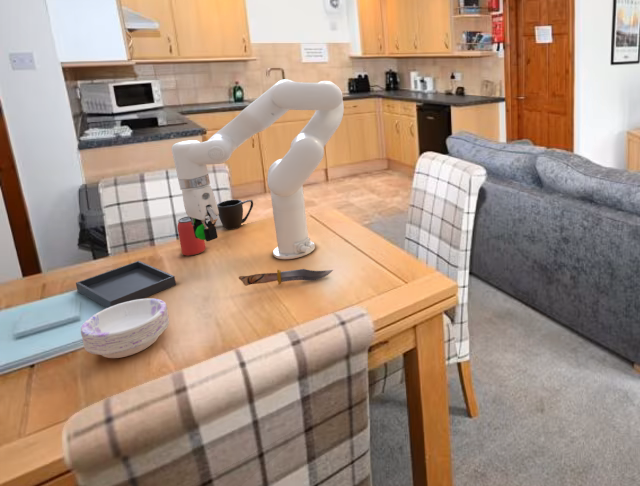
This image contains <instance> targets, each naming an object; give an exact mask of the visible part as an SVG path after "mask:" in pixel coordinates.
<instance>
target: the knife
mask: <svg viewBox="0 0 640 486" xmlns="http://www.w3.org/2000/svg"><path fill="white" fill-rule="evenodd" d="M333 271H334V269H327V270H326V269H325V270H311V269H306V268H301V269H300V268H299V269H292V270H284V271H281V270H280V269H277V272H267V273H265V272H263V273H255V274H251V275H240V276H238V279H239V281H241V282H242V284H243V285H244V286H246V287H247V286H250V285H256V284H257V285H258V284H267V283H273V282H277V283H278V286H280V285H281V284H282V283H285V282H292V281H293V282H294V281H307V282H313V281H319V280H321V279H323V278H325V277H327V276H329V275H330V274H331V273H332V272H333Z"/></svg>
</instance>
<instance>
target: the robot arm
mask: <svg viewBox="0 0 640 486" xmlns="http://www.w3.org/2000/svg"><path fill="white" fill-rule="evenodd" d="M343 97H344V93H343V91H342V90H341V88H340V87H339V86H338V85H337V84H336V83H334V82H333V81H330V80H321V81H319V82H304V81H303V82H301V81H294V80H292V79H287V78H286V79H281V80H279V81H277V82H276V83H274V84H273V85H272V86H271V87H269V88H268V89H267V90H265V92H263V93H262V94H261V95H260V96H258V97H257V98H256V99H255V100H253V101H252V102H251V103H249V104H248V105H246V107H245V108H243V109H242V110H241V111H240V112H239V113H238V115H236V116H235V117H234V118H233V119H231V120H230V121H229V122H228V123H227V124H225V125H224V126H223V127H221V128H220V129H219V130H218V131H216V132H215V133H214V134H213V135H212V136H210V137H209V138H208V139H207V140H205V141H199V140H195V139H193V140H192V139H190V140H189V139H188V140H182V141H178V142H176V143H173V144H172V146H171V154H172V158H173V162H174V167H175V171H176V176H177V180H178V186H179V189H180V191H181V193H182V201H183V206H184V211H185V214H186V216H189V217H190V219H191V223H192V225H193V229H194V234H195V232H196V229H197V227H198V226H200V225H201V224H203V225H204V228H205V229H203V230H204V234H205V239H206V240H205V242H211V241H213V240H216V239H218V238H219V237H218V236H219V235H218V232H217V227H216V226H217V224H216V223H217V221H218V217H219V211H218V207H217V204H218V203H217V199H216V196H215V194H214V191H213V188H212V186H211V181H210V175H209V171H208V166H207V165H221V164H224V163H226V162H227V161H229V160H230V159H231V157H232V155H233V153H234V152H235V151H236V150H237V149H238V148H240V147H241V145H243V144H244V143H245V142H246V141H248V140H249V139H250V138H252V137H253V136H254V135H256V134H258V133H261V132H264V131H265V130H267V129H269V128H270V127H271V126H272V125H273V124H274V123H276V122H277V121H278V120H279V119H280V118H282V117H283V116H284V115H285V114H286V113H287V112H289V111H291V110H292V111H314V113H313V114H312V116H311V118H310V119H309V120H308V122H307V123H306V124H305V126H304V127H303V128H302V129H301V130H300V131H299V133H298V134H297V135H296V136H294V138H293V139H292V141H291V143H290V146H289V149H288V151H287V152H286V153H285V155H284V156H283V157H282V158H278V159H277V160H275V161H274V162H272V163H271V164H270V166H269V167H268V170H267V180H266V181H267V187H268V189H269V191H270V199H271V206H272V216H273V221H274V230H275V235H276V243H277V247H275V248H274V249H273V251H272V254H273V257H274V258H276V259H278V260H293V259H298V258H302V257H304V256H307V255H309V254H310V253H312V252H313V251H314V250H315V247H316V245H315V243H314V241H312V240H311V238H310V237H309V229H308V228H309V227H308V219H307V213H306V203H305V194H304V187H303V185H304V184H305V183H306V182H307V181H308V179H309V178H310V177H311V176H312V174H313V173H314V172H315V170H316V169H317V168H318V166H319V165H320V164H321V162H322V160H323V158H324V155H325V149H324V148H325V146H327V144H328V142H329V141H330V139H331V138H332V137H333V136H334V134H335V133H336V132H337V130H338V128H339V127H340V125H341V123H342V121H343V117H344V111H345V105H344V100H343V99H344V98H343ZM194 225H195V226H194ZM195 238H197V236H196V234H195Z"/></svg>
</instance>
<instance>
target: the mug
mask: <svg viewBox="0 0 640 486" xmlns="http://www.w3.org/2000/svg"><path fill="white" fill-rule="evenodd" d="M249 202H250V205H249V209H248V211H247V213H246V214H245V216H244V215H243V214H244V209H243V207H244V206H243V205H244V204H246V203H249ZM217 207H218V211H219V215H218V218H219V221H220V223H221V224H222V226H223V229H225V230H235V229H239V228H240V227H241V226H242V224H244V223H245V222H246V221H247V219H248V217H249V216H250V214H251V212H252V210H253V207H254V201H253V199H247V200H243V201H242V199H228V200H223V201H220V202H219V203H217Z"/></svg>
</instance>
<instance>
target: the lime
mask: <svg viewBox="0 0 640 486" xmlns="http://www.w3.org/2000/svg"><path fill="white" fill-rule="evenodd" d="M203 229H205V228H204V225H203V224H201V225H200V226H198V227H197V229H196V232H195V234H196V236H197V238H199V239H200V240H204V241H206V239H205V234H204V230H203Z"/></svg>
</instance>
